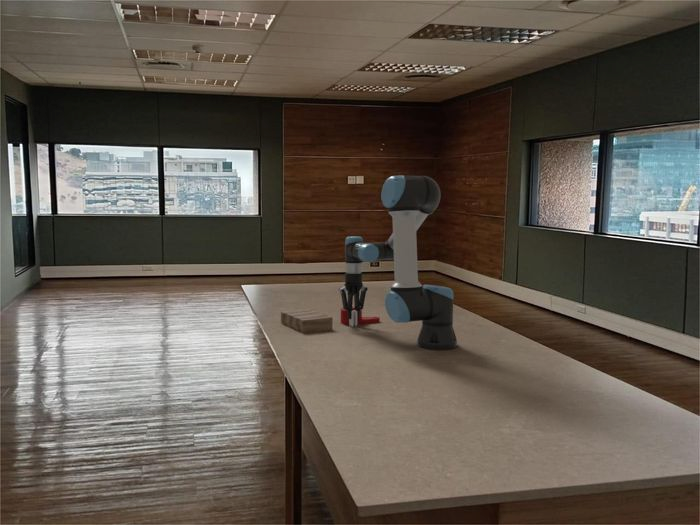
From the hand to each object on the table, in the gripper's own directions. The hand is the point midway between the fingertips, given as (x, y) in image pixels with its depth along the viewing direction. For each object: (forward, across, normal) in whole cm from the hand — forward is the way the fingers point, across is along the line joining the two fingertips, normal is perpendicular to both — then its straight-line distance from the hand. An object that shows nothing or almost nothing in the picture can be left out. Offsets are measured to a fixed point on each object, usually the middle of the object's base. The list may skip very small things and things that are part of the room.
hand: (353, 325), depth 274 cm
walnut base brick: (+1, +19, -8) cm, 21 cm away
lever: (+1, -6, -5) cm, 8 cm away
